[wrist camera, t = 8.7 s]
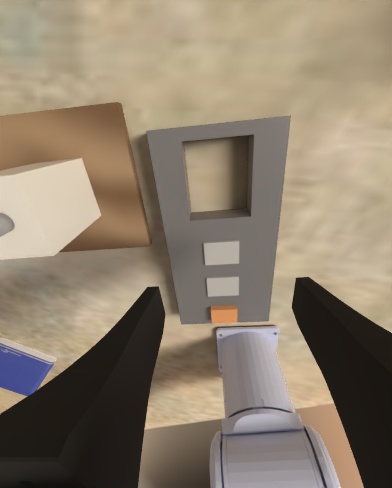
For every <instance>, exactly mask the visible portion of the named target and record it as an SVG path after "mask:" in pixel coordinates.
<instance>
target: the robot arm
mask: <svg viewBox="0 0 392 488" xmlns="http://www.w3.org/2000/svg"><path fill="white" fill-rule="evenodd" d="M292 309H293V312H294V315H295V318H296V321H297V323H298V326H299V328H300V330H301V332H302V334H303V336H304V338H305V340H306V342H307V344H308V346H309V348H310V350H311V352H312V354H313V356H314V358H315V360H316V362H317V364H318V366H319V368H320V370H321V372H322V374H323V376H324V378H325V381H326V383H327V386H328V388H329V391H330V393H331V396H332V398H333V401H334V403H335V406H336V409H337V411H338V414H339V416H340V419H341V422H342V424H343V427H344V430H345V433H346V436H347V438H348V441H349V444H350V447H351V450H352V452H353V455H354V458H355V461H356V464H357V467H358V470H359V473H360V476H361V479H362V483H363V486H364V488H392V333H391V332H389V331H387V330H385V329H384V328H382V327H380V326H379V325H377V324H375V323H374V322H372V321H371V320H369V319H367V318H366V317H364V316H363V315H361V314H360V313H358V312H357V311H355V310H354V309H352V308H351V307H349V306H348V305H346V304H345V303H344V302H342V301H341V300H339V299H338V298H337V297H335V296H334V295H332V294H331V293H330V292H328V291H327V290H326V289H324V288H323V287H322V286H320V285H319V284H317V283H316V282H315V281H313V280H312V279H311V278H309V277H302V278H296V282H295V289H294V295H293V302H292ZM164 321H165V310H164V306H163V302H162V298H161V294H160V290H159V286H158V287H147V288H146V290H145V291H144V292H143V293H142V294H141V296H140V297H139V298H138V299H137V301H136V302H135V303H134V304H133V305H132V307H131V308H130V309H129V310H128V311H127V312H126V314H125V315H124V316H123V317H122V318H121V319H120V320H119V321H118V323H117V324H116V325H115V326H114V327H113V328H112V329H111V330H110V331H109V332H108V333H107V334H106V335H105V336H104V337H103V338H102V339H101V340H100V341H99V342H98V343H97V344H96V345H94V346H93V347H92V348H91V349H90V350H89V351H88V352H87V353H85V354H84V355H83V356H82V357H80V358H79V359H78V360H77V361H76V362H74V363H73V364H72V365H71V366H69V367H68V368H67V369H66V370H64V371H63V372H62V373H60V374H59V375H58V376H56V377H55V378H54V379H52V380H51V381H49V382H48V383H47V384H45V385H44V386H42V387H41V388H40V389H38V390H37V391H35V392H34V393H32V394H31V395H29V396H28V397H26V398H24V399H23V400H21V401H20V402H18V403H17V404H15V405H14V406H12V407H11V408H9V409H8V410H6V411H4V412H3V413H1V415H0V488H138V481H139V471H140V461H141V452H142V444H143V436H144V428H145V420H146V413H147V406H148V399H149V393H150V386H151V381H152V376H153V372H154V367H155V363H156V359H157V355H158V351H159V347H160V343H161V339H162V335H163V329H164ZM216 336H217V351H218V366H219V372H221V373H222V379H223V393H224V406H225V419H222V430H223V431H218V432H217V433H216V435H215V437H214V439H213V441H212V444H211V450H210V481H211V488H341V487H340V483H339V480H338V477H337V474H336V471H335V469H334V466H333V463H332V461H331V458H330V456H329V453H328V451H327V449H326V446H325V444H324V442H323V440H322V438H321V436H320V435H319V433H317V432H316V431H315V430H314V429H313V428H312V427H311V426H310V425H303V424H302V421H301V418H300V415H299V413H295V409H294V406H293V403H292V400H291V397H290V394H289V391H288V388H287V384H286V381H285V378H284V375H283V372H282V369H281V366H280V363H279V359H278V356H277V353H276V350H277V344H278V337H279V328H278V327H277V326H261V327H231V328H218V329H217V330H216Z"/></svg>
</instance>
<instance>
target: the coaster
mask: <svg viewBox="0 0 392 488" xmlns="http://www.w3.org/2000/svg"><path fill="white" fill-rule="evenodd" d="M77 158H82V160H83V163H84V166H85V169H86V172H87V175H88V178H89V181H90V184H91V187H92V190H93V193H94V196H95V198H96V201H97V204H98V207H99V210H100V213H101V216H100V217H99V218H98V219H97V220H95V221H94V222H93V223H92V224H91V225H90V226H88V227H87V228H86V229H85V230H84V231H83V232H81V233H80V234H79V235H78V236H77V237H76V238H74V239H73V240H72V241H71V242H70V243H68V244H67V245H66V246H65V247H64V248H63V249H61V250H60V251H59V252H69V251H85V250H100V249H116V248H132V247H147V246H150V245H151V243H152V241H151V236H150V232H149V227H148V223H147V218H146V214H145V209H144V205H143V200H142V196H141V191H140V186H139V182H138V177H137V173H136V168H135V164H134V159H133V155H132V150H131V146H130V141H129V137H128V132H127V127H126V123H125V118H124V114H123V109H122V105H121V103H118V102H116V103H107V104H99V105H90V106H82V107H73V108H64V109H56V110H47V111H39V112H30V113H22V114H13V115H5V116H0V171H1V170H6V169H10V168H15V167H20V166H25V165H29V164H34V163H41V162H50V161H59V160H68V159H77Z"/></svg>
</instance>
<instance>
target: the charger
mask: <svg viewBox="0 0 392 488" xmlns="http://www.w3.org/2000/svg"><path fill="white" fill-rule="evenodd" d="M100 216H101V213H100V210H99V207H98V204H97V201H96V198H95V196H94V193H93V190H92V187H91V184H90V181H89V178H88V175H87V172H86V169H85V166H84V163H83V160H82V158H77V159H68V160H59V161H50V162H41V163H34V164H29V165H25V166H20V167H15V168H10V169H6V170H1V171H0V260H3V259H17V258H30V257H44V256H54V255H56V254H57V253H58V252H59V251H60V250H61V249H63V248H64V247H65V246H66V245H67V244H68V243H70V242H71V241H72V240H73V239H74V238H76V237H77V236H78V235H79V234H80V233H81V232H83V231H84V230H85V229H86V228H87V227H88V226H90V225H91V224H92V223H93V222H94V221H95V220H97V219H98V218H99V217H100Z"/></svg>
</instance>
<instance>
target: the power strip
mask: <svg viewBox="0 0 392 488" xmlns="http://www.w3.org/2000/svg"><path fill="white" fill-rule="evenodd" d="M290 119H291V116H283V117H274V118H264V119H255V120H245V121H236V122H226V123H217V124H208V125H198V126H189V127H179V128H170V129H160V130H151V131H146V133H147V139H148V144H149V150H150V155H151V161H152V166H153V172H154V177H155V183H156V188H157V194H158V199H159V205H160V210H161V215H162V221H163V226H164V232H165V237H166V243H167V248H168V254H169V259H170V265H171V270H172V276H173V281H174V287H175V292H176V298H177V303H178V309H179V314H180V320H181V324H205V323H235V322H262V321H269V312H270V303H271V294H272V285H273V276H274V266H275V257H276V248H277V239H278V230H279V220H280V211H281V202H282V193H283V184H284V174H285V165H286V156H287V147H288V138H289V128H290ZM242 135H249V149H248V186H247V209H235V210H222V211H208V212H195V213H191V205H190V195H189V186H188V177H187V168H186V159H185V149H184V141H193V140H203V139H213V138H222V137H232V136H242Z"/></svg>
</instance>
